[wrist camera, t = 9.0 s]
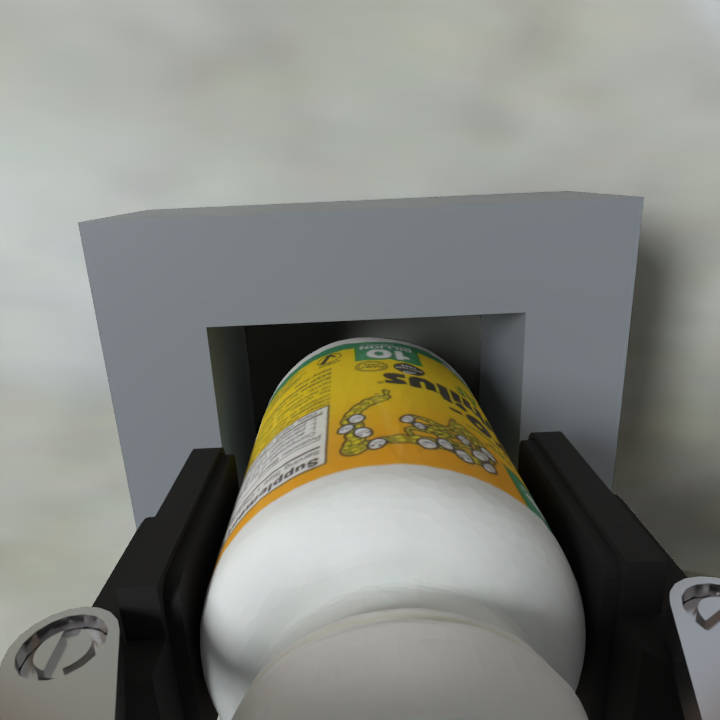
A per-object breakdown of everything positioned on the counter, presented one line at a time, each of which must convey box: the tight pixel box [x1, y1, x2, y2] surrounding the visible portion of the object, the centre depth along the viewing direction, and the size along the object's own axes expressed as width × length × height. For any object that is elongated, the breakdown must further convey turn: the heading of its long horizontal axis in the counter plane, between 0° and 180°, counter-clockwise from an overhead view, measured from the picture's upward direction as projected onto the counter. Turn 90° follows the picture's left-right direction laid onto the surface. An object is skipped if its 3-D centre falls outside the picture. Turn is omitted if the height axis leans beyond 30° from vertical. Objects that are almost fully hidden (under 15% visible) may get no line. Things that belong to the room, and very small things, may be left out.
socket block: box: [78, 191, 644, 529], centre depth 15 cm, size 11×11×4 cm
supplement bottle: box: [200, 337, 589, 720], centre depth 10 cm, size 5×5×10 cm
